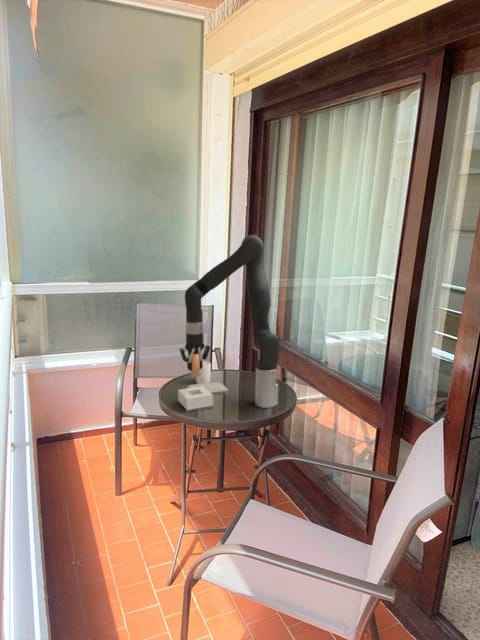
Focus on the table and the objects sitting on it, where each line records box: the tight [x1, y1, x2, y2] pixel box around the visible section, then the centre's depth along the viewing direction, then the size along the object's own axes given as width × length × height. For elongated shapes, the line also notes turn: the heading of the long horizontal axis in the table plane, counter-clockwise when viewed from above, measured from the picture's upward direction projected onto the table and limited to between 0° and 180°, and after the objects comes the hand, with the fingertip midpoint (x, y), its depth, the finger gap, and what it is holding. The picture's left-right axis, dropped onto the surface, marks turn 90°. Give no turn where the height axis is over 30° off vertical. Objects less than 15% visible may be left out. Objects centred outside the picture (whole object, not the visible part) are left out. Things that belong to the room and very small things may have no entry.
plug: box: [190, 354, 200, 378], centre depth 212 cm, size 4×4×10 cm
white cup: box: [195, 361, 212, 384], centre depth 242 cm, size 8×8×10 cm
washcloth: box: [186, 381, 229, 396], centre depth 232 cm, size 12×18×3 cm, turn 111°
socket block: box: [177, 386, 214, 412], centre depth 215 cm, size 12×12×6 cm
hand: (194, 369), depth 212 cm, fingers closed on plug, 4 cm apart
